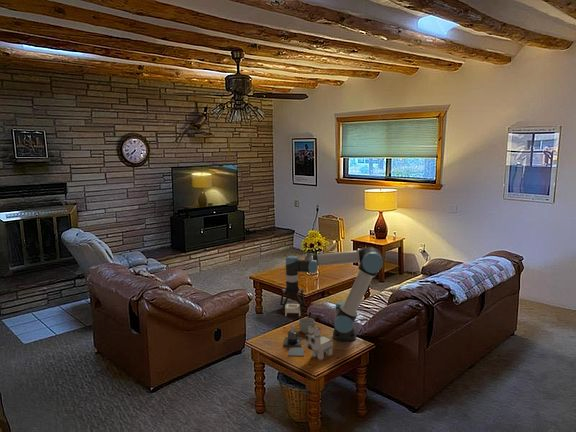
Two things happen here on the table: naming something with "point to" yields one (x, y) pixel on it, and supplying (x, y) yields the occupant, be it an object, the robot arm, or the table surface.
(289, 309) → the cream ring
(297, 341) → the ring stand
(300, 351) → the slate mat
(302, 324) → the teacup
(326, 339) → the toy llama
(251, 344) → the table surface
